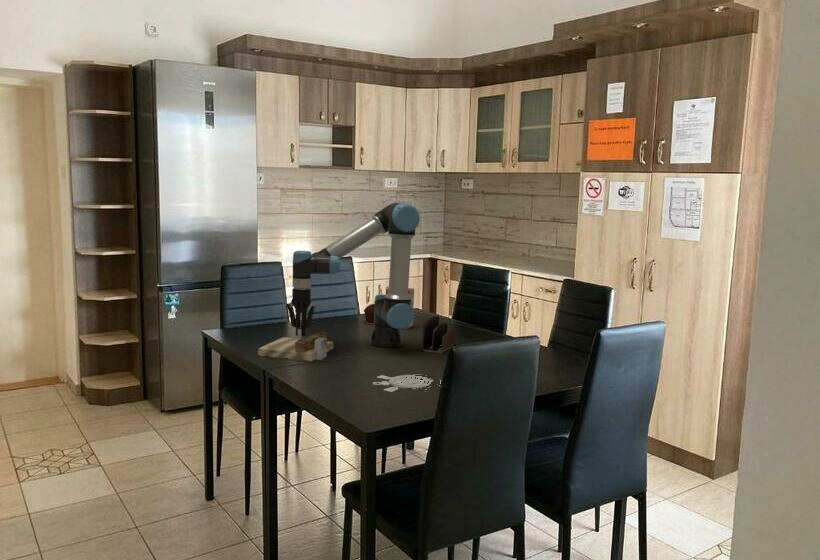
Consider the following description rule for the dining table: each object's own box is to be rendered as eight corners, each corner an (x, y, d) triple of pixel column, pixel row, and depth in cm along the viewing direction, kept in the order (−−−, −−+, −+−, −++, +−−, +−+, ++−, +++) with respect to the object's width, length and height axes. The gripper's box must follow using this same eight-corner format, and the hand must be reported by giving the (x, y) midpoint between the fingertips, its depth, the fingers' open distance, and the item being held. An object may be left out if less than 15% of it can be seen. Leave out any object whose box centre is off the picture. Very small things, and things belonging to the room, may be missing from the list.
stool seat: (333, 348, 294) (333, 341, 294) (312, 361, 271) (312, 354, 271) (283, 343, 300) (283, 337, 300) (258, 355, 277) (258, 348, 277)
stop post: (326, 356, 279) (327, 338, 278) (321, 360, 274) (321, 341, 273) (319, 356, 280) (320, 337, 279) (314, 359, 274) (314, 340, 273)
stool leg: (319, 341, 294) (319, 330, 293) (328, 342, 292) (328, 332, 292) (294, 351, 274) (294, 340, 274) (304, 352, 273) (304, 341, 272)
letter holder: (421, 351, 295) (422, 320, 293) (436, 343, 313) (437, 313, 312) (442, 354, 291) (444, 322, 290) (456, 345, 310) (457, 315, 308)
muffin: (381, 325, 348) (382, 306, 347) (361, 324, 351) (361, 305, 349) (386, 321, 360) (387, 303, 359) (366, 320, 362) (367, 302, 361)
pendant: (454, 392, 238) (454, 388, 238) (377, 394, 233) (377, 390, 232) (440, 375, 259) (440, 372, 259) (368, 377, 253) (368, 373, 253)
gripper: (283, 288, 275) (282, 344, 278) (312, 290, 271) (310, 347, 274) (291, 285, 282) (290, 340, 285) (319, 288, 278) (318, 343, 281)
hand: (300, 343), depth 280 cm, fingers closed
